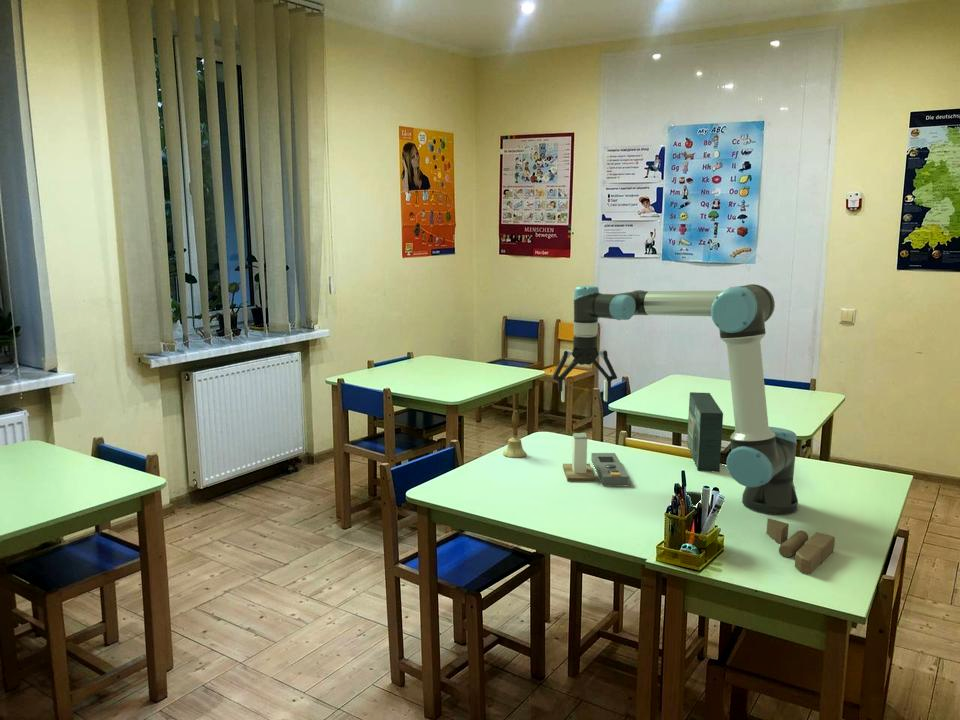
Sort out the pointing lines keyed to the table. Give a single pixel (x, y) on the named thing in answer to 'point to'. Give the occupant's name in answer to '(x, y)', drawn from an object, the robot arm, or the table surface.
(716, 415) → the cassette player
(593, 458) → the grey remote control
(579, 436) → the block
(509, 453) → the hand bell
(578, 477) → the walnut board
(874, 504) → the table surface
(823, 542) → the wooden block set
